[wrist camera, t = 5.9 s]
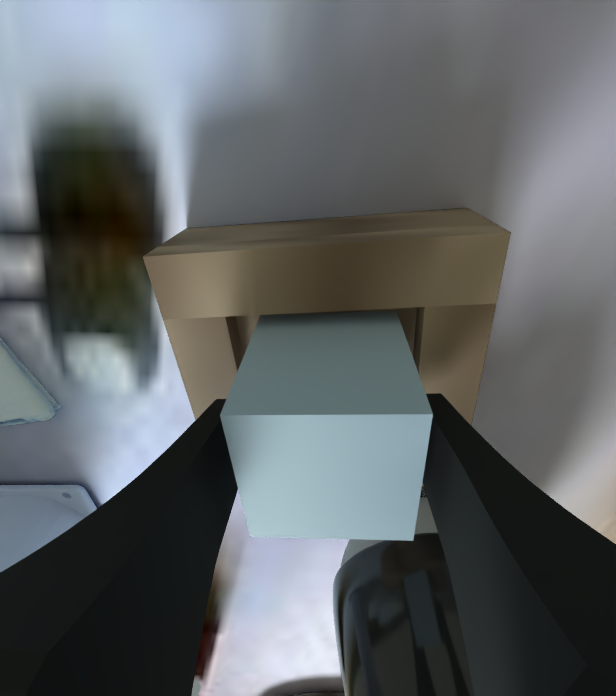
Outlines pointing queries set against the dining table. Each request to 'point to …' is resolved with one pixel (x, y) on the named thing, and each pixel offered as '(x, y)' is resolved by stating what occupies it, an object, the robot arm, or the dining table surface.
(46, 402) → the paper napkin stack
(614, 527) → the dining table surface
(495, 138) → the dining table surface
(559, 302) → the dining table surface
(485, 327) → the square wooden tray
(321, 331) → the blue block
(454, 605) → the dark grey egg shape
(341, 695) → the plant saucer
